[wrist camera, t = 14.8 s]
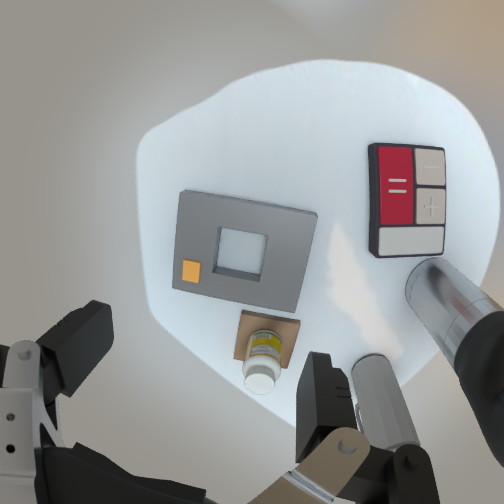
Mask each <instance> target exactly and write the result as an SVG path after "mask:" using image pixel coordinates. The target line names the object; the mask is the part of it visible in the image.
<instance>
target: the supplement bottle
mask: <svg viewBox="0 0 504 504" xmlns="http://www.w3.org/2000/svg"><path fill="white" fill-rule="evenodd" d="M281 362H282V340H281V338H280V337H279V336H278V335H277V334H276V333H274V332H273V331H269V330H260V331H257V332H255V333H254V334H252V335H251V337H250V338H249V341H248V345H247V350H246V354H245V358H244V362H243V367H242V371H243V375H244V376H245V381H244V384H245V387H246V388H247V390H249V391H250V392H252V393H254V394H259V395H262V394H267V393H269V392H271V391H272V390H273V389H274V387H275V381H276V380H277V379H278V378H279V376H280V374H281Z"/></svg>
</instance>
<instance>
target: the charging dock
mask: <svg viewBox="0 0 504 504" xmlns="http://www.w3.org/2000/svg"><path fill="white" fill-rule="evenodd" d="M317 217H318V216H317V214H316V213H314V212H309V211H304V210H299V209H294V208H288V207H283V206H278V205H273V204H267V203H262V202H256V201H250V200H245V199H239V198H233V197H227V196H221V195H214V194H208V193H201V192H195V191H188V190H185V191H182V192H180V195H179V204H178V214H177V225H176V236H175V249H174V263H173V280H172V288H174V289H178V290H182V291H187V292H191V293H196V294H200V295H205V296H209V297H214V298H219V299H223V300H228V301H233V302H238V303H243V304H248V305H253V306H258V307H263V308H269V309H274V310H280V311H285V312H291V313H295V310H296V306H297V302H298V298H299V294H300V290H301V286H302V282H303V278H304V274H305V270H306V266H307V262H308V258H309V253H310V249H311V245H312V240H313V236H314V231H315V227H316V222H317ZM221 227H223V228H228V229H234V230H239V231H244V232H250V233H255V234H261V235H266V236H268V239H267V244H266V250H265V255H264V261H263V266H262V271H261V275H257V274H251V273H246V272H241V271H236V270H231V269H226V268H221V267H216V264H217V256H218V248H219V240H220V233H221Z"/></svg>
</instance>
